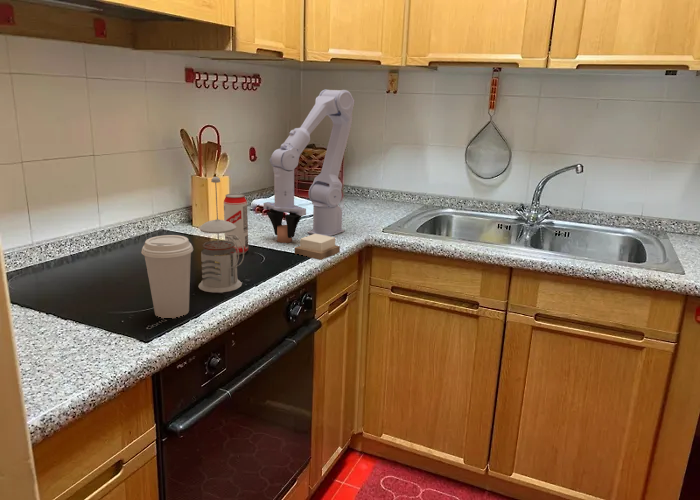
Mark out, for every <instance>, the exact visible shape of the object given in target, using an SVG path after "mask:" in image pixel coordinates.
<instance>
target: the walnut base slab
mask: <svg viewBox="0 0 700 500" xmlns="http://www.w3.org/2000/svg"><path fill="white" fill-rule="evenodd" d="M340 251H341V246H340V245H336V244H335V247H332V248H330V249H327V250H325V251H322V252H318V251H314V250H309V249H304V248H300V245H298V246H296V247H294V255H297V254H299V256H301V255H303V256H302V257H306V256H307V257H306V258H311V259H315V260H319V261H322V260H324V259H327V258H330V257H332V256H334V255H336V254H339V253H340Z"/></svg>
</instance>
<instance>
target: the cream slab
mask: <svg viewBox="0 0 700 500" xmlns="http://www.w3.org/2000/svg"><path fill="white" fill-rule="evenodd" d="M299 243H300V244H299V246H300V248H304V249H309V250H314V251H318V252H322V251H325V250H327V249H330V248H332V247H335V245H336V237H335V236H325V235H320V234H310V235H308V236H305V237H301V238H300V239H299Z"/></svg>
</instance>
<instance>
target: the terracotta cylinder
mask: <svg viewBox="0 0 700 500" xmlns="http://www.w3.org/2000/svg"><path fill="white" fill-rule="evenodd" d="M276 239H277V240H276V242H277V243H279V244H289V243H292V242H293V237H292V238H288V233H287V224H282V225H279V226H277V235H276Z"/></svg>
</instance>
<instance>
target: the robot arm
mask: <svg viewBox="0 0 700 500" xmlns="http://www.w3.org/2000/svg"><path fill="white" fill-rule="evenodd" d="M352 95H353V94H352V93H351V92H350V91H349V90H347V89H341V90H339V89H328V88H326V89H323V90H321V91H320V92H319V95H318V96H316V98H315V103H314V105H313V107H312V108H311V110H310V111H309V112H308V115H307V116H306V117H305V119H304V120H303V123H302V124H301V125H300V126H299V127H295V128H293V129H291V130H290V132H289V134H288V137H287V138H286V139H285V140H284V142H283V143H281V145H280V147H279V148H277V149H275V150H274V151H273V152H272V154H271V156H270V158H269V163H270V166H271V167H272V169H273V170H272V171H273V172H272V173H274V175H273V176H274V177H273V178H274V181H273V182H274V183H273V184H274V187H273V189H274V190H273V191H274V194H273V195H274V202H272V201H271V202H270V201H267V202H266V201H265V202H263V210H269V211H267V212H266V214H267V217H268V218H269V221H270V222H271V224H272V229H273V232H274V235H275V236H277V226H279V225H283V217H284V219H285V221H286V225H287V233H288V238H292V239H293V238H294V237H295V235H296V230H297V227H298V225H299V222H300V220H301V218H303V216H306V215H307V208H306V207H301V206H299V205H295V169H296V168H297V167H298V166H299V161H300V160H299V159H300V157H301V155H302V153H303V151H304V150H305V149H306V147H307V146H308V145H309V143H310V141H311V136H310V135H311V134H312V133H313V132H314V131H315V129H316V128H317V127H318V126H319V125H320V123H321V122H322V121H323V120H324V119H325V117H326V116H328V118H329V119H330V120H331V122H332V128H331V131H330V136H329V140H328V143H327V147H326V152H325V156H324V160H323V163H322V167H321V171H320V173H319V174H318V175H317V176H315V177H314V180H313V182H312V184H311V185H310V187H309V189H308V198H309V199H310V201H311V202H312V203H311V204H312V205H313V212H312V213H313V219H312V220H313V222H312V223H313V224H312V230H309V231H307V234H310V235H312V234H320V235H325V236H330V237H333V236H335V235H338V234H341V233H343V232H344V231H345V230H344V229H342V228H343V227H342V226H343V225H342V224H343V223H342V222H343V217H342V216H343V211H342V209H341V206H340V205H339V204H340V203H341V201H342V198H343V196H342V189H343V183H342V182H341V180H340V179H339V176H340V170H341V168H342V162H343V160H344V159H343V158H344V155H345V151H346V147H347V143H348V140H349V137H350V136H349V135H350V131H351V129H352V124H353V110H354V105H355V99H354V98H353V96H352ZM284 213H288V214H285V215H284Z"/></svg>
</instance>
